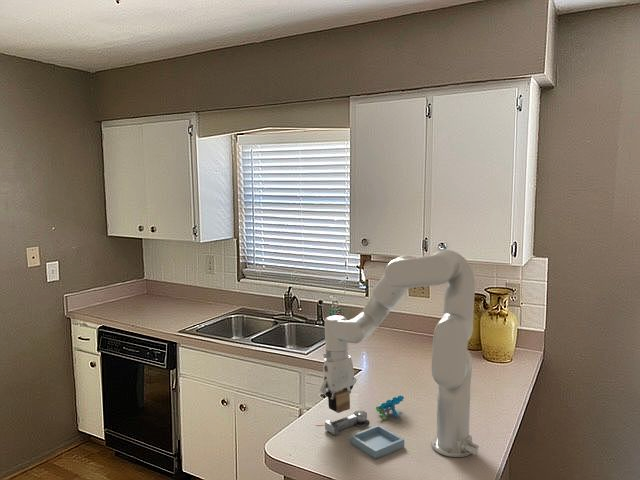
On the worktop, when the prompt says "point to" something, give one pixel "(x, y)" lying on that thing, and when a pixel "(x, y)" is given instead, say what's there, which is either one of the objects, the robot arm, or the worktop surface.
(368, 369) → the worktop surface
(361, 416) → the lever
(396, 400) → the gear
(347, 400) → the block
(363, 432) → the tray
